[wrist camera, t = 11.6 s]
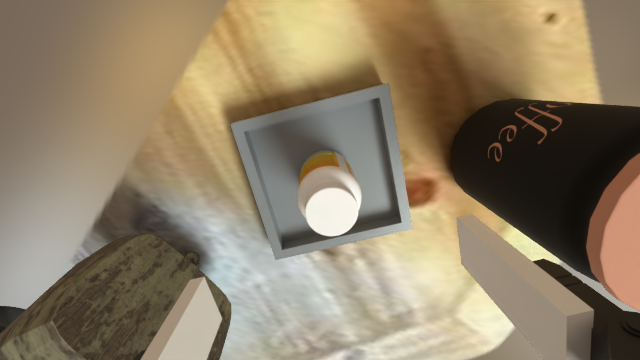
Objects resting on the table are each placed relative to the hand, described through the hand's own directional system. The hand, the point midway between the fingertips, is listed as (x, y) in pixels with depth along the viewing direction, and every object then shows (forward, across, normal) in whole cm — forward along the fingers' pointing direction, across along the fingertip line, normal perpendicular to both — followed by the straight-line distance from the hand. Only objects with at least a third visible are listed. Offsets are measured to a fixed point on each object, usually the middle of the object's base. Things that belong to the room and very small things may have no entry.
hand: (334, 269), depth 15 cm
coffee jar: (+18, +18, -2) cm, 26 cm away
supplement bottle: (+17, 0, 0) cm, 17 cm away
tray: (+18, 0, 0) cm, 18 cm away
